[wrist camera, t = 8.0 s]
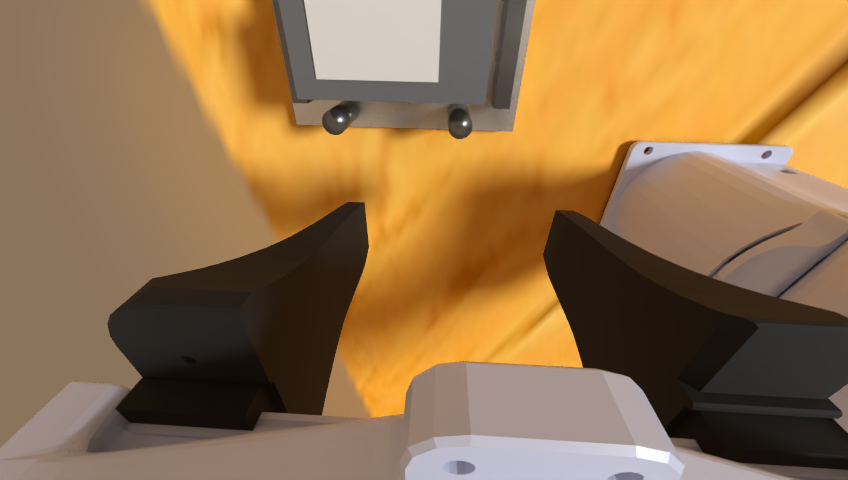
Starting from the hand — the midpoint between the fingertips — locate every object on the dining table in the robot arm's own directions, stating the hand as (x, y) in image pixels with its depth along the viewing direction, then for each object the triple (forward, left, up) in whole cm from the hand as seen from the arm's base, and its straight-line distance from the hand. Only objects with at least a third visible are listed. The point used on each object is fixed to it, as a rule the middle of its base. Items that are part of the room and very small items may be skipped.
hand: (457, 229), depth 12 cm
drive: (+3, -6, -9) cm, 11 cm away
